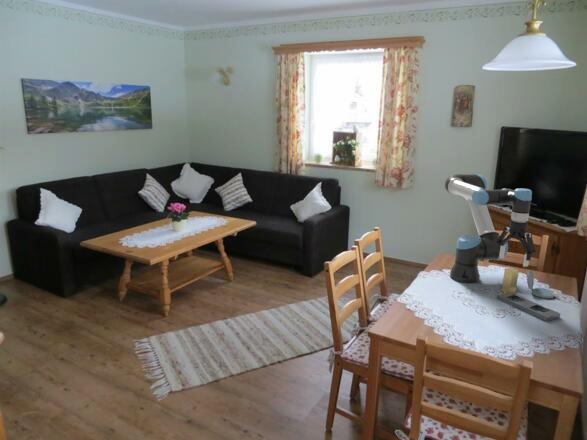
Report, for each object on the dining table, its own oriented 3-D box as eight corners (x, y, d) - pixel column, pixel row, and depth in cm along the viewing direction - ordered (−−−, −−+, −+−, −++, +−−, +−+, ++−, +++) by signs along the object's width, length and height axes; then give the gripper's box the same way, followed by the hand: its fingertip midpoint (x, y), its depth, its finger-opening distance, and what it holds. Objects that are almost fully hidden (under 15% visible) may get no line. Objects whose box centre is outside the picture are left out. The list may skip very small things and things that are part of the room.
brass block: (501, 290, 218) (504, 268, 215) (507, 289, 220) (510, 267, 217) (509, 294, 214) (512, 271, 211) (515, 292, 216) (518, 270, 213)
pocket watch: (531, 268, 220) (565, 275, 210) (528, 287, 222) (561, 296, 213) (526, 273, 212) (560, 281, 203) (522, 293, 215) (556, 302, 205)
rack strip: (496, 298, 209) (496, 294, 208) (508, 295, 213) (509, 291, 212) (546, 321, 186) (547, 317, 186) (559, 317, 190) (560, 313, 189)
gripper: (492, 215, 217) (487, 255, 222) (538, 227, 195) (531, 271, 200) (502, 214, 220) (497, 253, 225) (548, 225, 198) (541, 268, 203)
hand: (513, 261), depth 212 cm, fingers open, 13 cm apart
